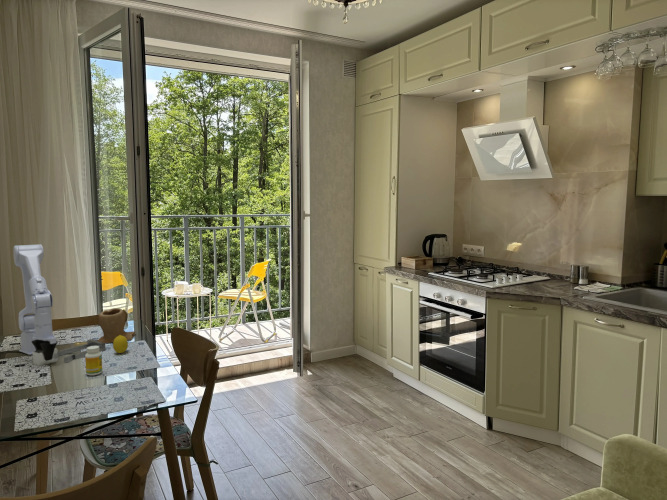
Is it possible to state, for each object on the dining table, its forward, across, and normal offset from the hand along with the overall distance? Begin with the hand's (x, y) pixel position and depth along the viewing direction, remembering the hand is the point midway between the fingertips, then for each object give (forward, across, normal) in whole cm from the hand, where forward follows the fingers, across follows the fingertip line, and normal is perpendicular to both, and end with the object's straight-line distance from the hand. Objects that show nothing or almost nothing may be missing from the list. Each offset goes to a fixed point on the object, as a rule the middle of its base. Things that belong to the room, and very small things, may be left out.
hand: (45, 358), depth 185 cm
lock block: (+2, 0, 0) cm, 2 cm away
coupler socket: (+1, +1, +14) cm, 14 cm away
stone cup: (+2, -2, +31) cm, 31 cm away
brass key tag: (+1, -8, +19) cm, 21 cm away
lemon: (+2, +15, +22) cm, 27 cm away
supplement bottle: (+2, +27, +4) cm, 27 cm away
